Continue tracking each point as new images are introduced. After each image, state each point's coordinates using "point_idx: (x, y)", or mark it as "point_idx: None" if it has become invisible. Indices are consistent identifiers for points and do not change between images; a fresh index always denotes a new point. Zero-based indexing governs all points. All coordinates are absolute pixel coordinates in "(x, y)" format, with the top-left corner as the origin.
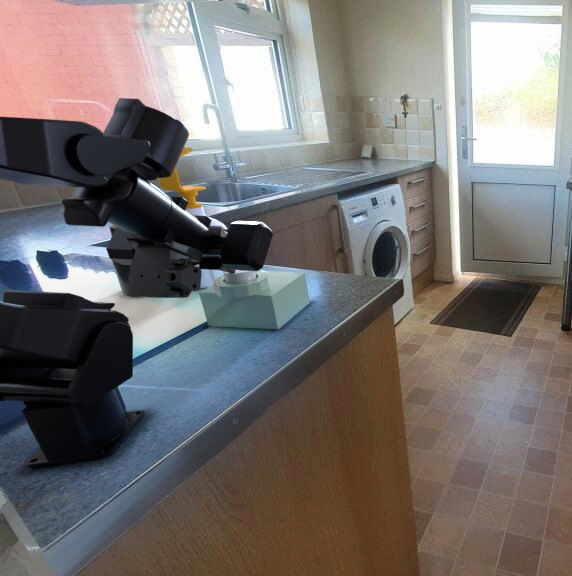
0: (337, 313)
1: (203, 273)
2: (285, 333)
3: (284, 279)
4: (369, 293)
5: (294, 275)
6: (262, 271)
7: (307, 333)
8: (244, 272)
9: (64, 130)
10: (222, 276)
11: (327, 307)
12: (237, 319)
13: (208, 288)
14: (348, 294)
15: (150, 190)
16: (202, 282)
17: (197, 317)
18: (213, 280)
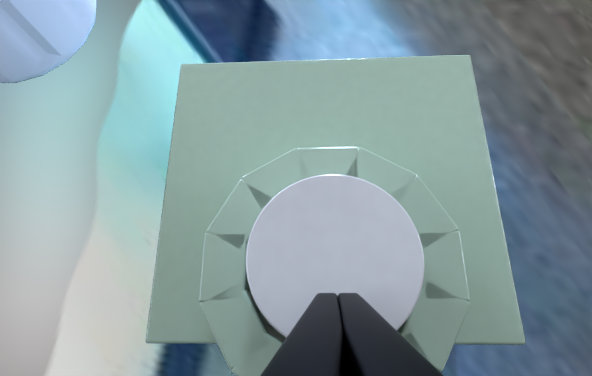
0: (572, 191)
1: (6, 40)
2: (498, 361)
3: (439, 139)
4: (574, 41)
5: (449, 90)
6: (280, 70)
7: (576, 353)
8: (411, 310)
9: None
10: (215, 253)
11: (506, 153)
12: None
13: (162, 288)
14: (511, 56)
15: None
16: (22, 67)
17: (128, 273)
18: (49, 50)
